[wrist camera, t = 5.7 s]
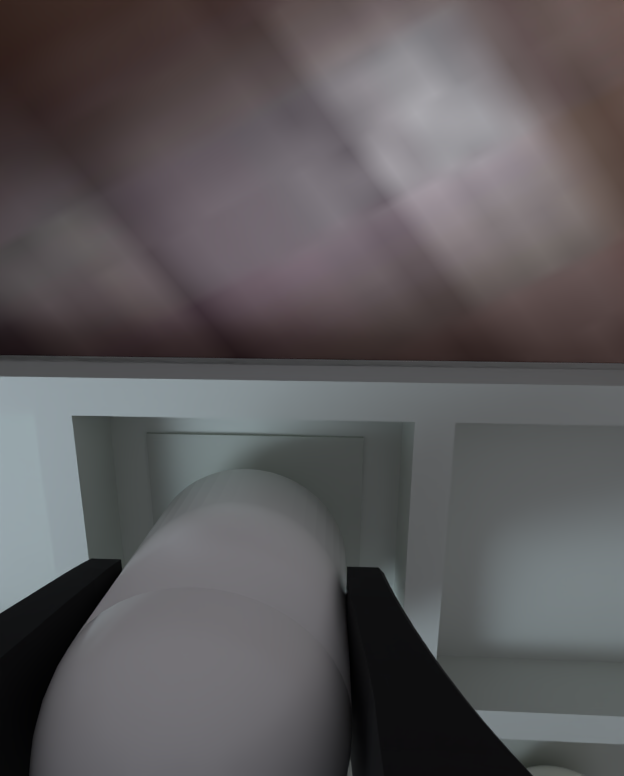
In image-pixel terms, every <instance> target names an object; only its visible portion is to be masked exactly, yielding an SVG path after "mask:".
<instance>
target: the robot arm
mask: <svg viewBox="0 0 624 776" xmlns="http://www.w3.org/2000/svg"><path fill="white" fill-rule="evenodd" d="M121 572H122V563H121V559H95V558H91V559H89V560H87V561H85V562H83V563H81V564H80V565H78V566H76V567H74V568H73V569H71V570H69V571H68V572H66V573H64V574H63V575H61V576H59V577H58V578H56V579H55V580H53V581H51V582H50V583H48V584H47V585H45V586H43V587H42V588H40V589H39V590H37V591H35V592H34V593H32V594H31V595H29V596H27V597H26V598H24V599H23V600H21V601H19V602H18V603H16V604H14V605H13V606H11V607H10V608H8V609H6V610H5V611H3V612H2V613H0V776H29V768H30V756H31V748H32V740H33V735H34V731H35V727H36V723H37V719H38V715H39V712H40V708H41V704H42V700H43V698H44V696H45V693H46V691H47V689H48V686H49V684H50V682H51V679H52V677H53V675H54V673H55V670H56V668H57V666H58V664H59V663H60V661H61V659H62V658H63V656H64V654H65V653H66V651H67V649H68V648H69V646H70V645H71V643H72V642H73V640H74V639H75V637H76V636H77V634H78V633H79V632H80V630H81V629H82V627H83V626H84V624H85V623H86V622H87V620H88V619H89V617H90V616H91V615H92V613H93V612H94V610H95V609H96V607H97V606H98V605H99V603H100V602H101V600H102V599H103V597H104V596H105V595H106V593H107V592H108V590H109V589H110V588H111V586H112V585H113V583H114V582H115V580H116V579H117V578H118V576H119V575H120V573H121ZM346 602H347V628H348V642H349V657H350V680H351V704H352V745H351V754H350V759H351V768H352V776H533V775H532V774H531V773H530V772H529V771H528V770H527V769H526V768H525V767H524V765H523V764H522V763H521V762H520V761H519V760H518V759H517V758H516V757H515V756H514V755H513V754H512V753H511V752H510V750H509V749H508V748H507V747H506V746H505V745H504V744H503V742H502V741H501V740H500V739H499V738H498V737H497V736H496V734H495V733H494V732H493V731H492V730H491V729H490V728H489V726H488V725H487V724H486V723H485V722H484V721H483V719H482V718H481V717H480V716H479V715H478V713H477V712H476V711H475V710H474V708H473V707H472V706H471V705H470V703H469V702H468V701H467V700H466V698H465V697H464V696H463V695H462V693H461V692H460V691H459V689H458V688H457V687H456V686H455V684H454V683H453V682H452V680H451V679H450V678H449V676H448V675H447V674H446V672H445V671H444V670H443V668H442V667H441V665H440V664H439V663H438V661H437V660H436V659H435V657H434V656H433V654H432V653H431V651H430V650H429V648H428V647H427V645H426V644H425V642H424V641H423V639H422V638H421V636H420V635H419V633H418V632H417V630H416V629H415V627H414V626H413V624H412V623H411V621H410V620H409V618H408V616H407V615H406V613H405V611H404V610H403V608H402V606H401V605H400V603H399V601H398V599H397V598H396V596H395V594H394V592H393V590H392V588H391V587H390V585H389V583H388V581H387V579H386V576H385V574H384V573H383V572H382V570H381V569H380V568H379V567H347V585H346Z"/></svg>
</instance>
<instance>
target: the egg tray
mask: <svg viewBox="0 0 624 776" xmlns="http://www.w3.org/2000/svg"><path fill="white" fill-rule="evenodd" d="M233 469H254V470H262V471H267V472H272V473H275V474H278V475H281V476H284V477H286V478H289V479H291V480H293V481H295V482H297V483H298V484H300V485H302V486H303V487H305V488H306V489H308V490H309V491H310V492H311V493H313V494H314V495H315V496H316V497H317V498H318V499H319V500H320V501H321V502H322V503H323V504H324V505H325V506H326V507H327V509H328V510H329V512H330V513H331V514H332V516H333V517H334V519H335V521H336V523H337V525H338V527H339V529H340V532H341V535H342V538H343V542H344V547H345V560H346V584H347V567H379V568H380V569H381V570H382V572H383V573H384V574H385V576H386V579H387V581H388V583H389V585H390V587H391V588H392V590H393V592H394V594H395V596H396V598H397V599H398V601H399V603H400V605H401V606H402V608H403V610H404V611H405V613H406V615H407V616H408V618H409V620H410V621H411V623H412V624H413V626H414V627H415V629H416V630H417V632H418V633H419V635H420V636H421V638H422V639H423V641H424V642H425V644H426V645H427V647H428V648H429V650H430V651H431V653H432V654H433V656H434V657H435V659H436V660H437V661H438V663H439V664H440V665H441V667H442V668H443V670H444V671H445V672H446V674H447V675H448V676H449V678H450V679H451V680H452V682H453V683H454V684H455V686H456V687H457V688H458V689H459V691H460V692H461V693H462V695H463V696H464V697H465V698H466V700H467V701H468V702H469V703H470V705H471V706H472V707H473V708H474V710H475V711H476V712H477V713H478V715H479V716H480V717H481V718H482V719H483V721H484V722H485V723H486V724H487V725H488V726H489V728H490V729H491V730H492V731H493V732H494V733H495V734H496V736H497V737H498V738H499V739H500V740H501V741H502V742H503V744H504V745H505V746H506V747H507V748H508V749H509V750H510V752H511V753H512V754H513V755H514V756H515V757H516V758H517V759H518V760H519V761H520V762H521V763H522V764H523V765H524V767H525V768H528V767H532V766H540V765H550V766H557V767H563V768H567V769H571V770H574V771H576V772H579V773H581V774H583V775H585V776H624V364H623V363H549V362H474V361H399V360H324V359H250V358H175V357H100V356H25V355H0V613H2V612H3V611H5V610H6V609H8V608H10V607H11V606H13V605H14V604H16V603H18V602H19V601H21V600H23V599H24V598H26V597H27V596H29V595H31V594H32V593H34V592H35V591H37V590H39V589H40V588H42V587H43V586H45V585H47V584H48V583H50V582H51V581H53V580H55V579H56V578H58V577H59V576H61V575H63V574H64V573H66V572H68V571H69V570H71V569H73V568H74V567H76V566H78V565H80V564H81V563H83V562H85V561H87V560H89V559H91V558H95V559H121V563H122V571H123V569H124V568H125V566H126V565H127V563H128V562H129V561H130V559H131V558H132V556H133V555H134V554H135V552H136V551H137V549H138V548H139V546H140V545H141V544H142V542H143V541H144V539H145V538H146V536H147V535H148V534H149V532H150V531H151V529H152V528H153V527H154V525H155V524H156V522H157V521H158V519H159V518H160V517H161V515H162V514H163V512H164V511H165V510H166V508H167V507H168V505H169V504H170V503H171V501H172V500H173V499H174V498H175V497H176V496H177V495H178V494H179V493H180V492H181V491H182V490H184V489H185V488H186V487H187V486H189V485H190V484H192V483H194V482H195V481H197V480H199V479H201V478H203V477H206V476H208V475H211V474H214V473H217V472H221V471H227V470H233ZM347 776H352V768H351V759H350V761H349V767H348V773H347Z"/></svg>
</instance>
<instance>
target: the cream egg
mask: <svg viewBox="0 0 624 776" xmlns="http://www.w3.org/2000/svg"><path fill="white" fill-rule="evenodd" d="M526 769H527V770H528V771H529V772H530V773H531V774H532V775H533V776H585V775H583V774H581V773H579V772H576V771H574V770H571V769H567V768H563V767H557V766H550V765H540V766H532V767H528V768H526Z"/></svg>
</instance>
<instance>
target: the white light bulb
mask: <svg viewBox="0 0 624 776" xmlns="http://www.w3.org/2000/svg"><path fill="white" fill-rule="evenodd" d="M346 585H347V584H346V560H345V547H344V542H343V538H342V535H341V532H340V529H339V527H338V525H337V523H336V521H335V519H334V517H333V516H332V514H331V513H330V512H329V510H328V509H327V507H326V506H325V505H324V504H323V503H322V502H321V501H320V500H319V499H318V498H317V497H316V496H315V495H314V494H313V493H311V492H310V491H309V490H308V489H306V488H305V487H303V486H302V485H300V484H298V483H297V482H295V481H293V480H291V479H289V478H286V477H284V476H281V475H278V474H275V473H272V472H267V471H262V470H254V469H233V470H227V471H221V472H217V473H214V474H211V475H208V476H206V477H203V478H201V479H199V480H197V481H195V482H194V483H192V484H190V485H189V486H187V487H186V488H185V489H184V490H182V491H181V492H180V493H179V494H178V495H177V496H176V497H175V498H174V499H173V500H172V501H171V503H170V504H169V505H168V507H167V508H166V510H165V511H164V512H163V514H162V515H161V517H160V518H159V519H158V521H157V522H156V524H155V525H154V527H153V528H152V529H151V531H150V532H149V534H148V535H147V536H146V538H145V539H144V541H143V542H142V544H141V545H140V546H139V548H138V549H137V551H136V552H135V554H134V555H133V556H132V558H131V559H130V561H129V562H128V563H127V565H126V566H125V568H124V569H123V571H122V572H121V573H120V575H119V576H118V578H117V579H116V580H115V582H114V583H113V585H112V586H111V588H110V589H109V590H108V592H107V593H106V595H105V596H104V597H103V599H102V600H101V602H100V603H99V605H98V606H97V607H96V609H95V610H94V612H93V613H92V615H91V616H90V617H89V619H88V620H87V622H86V623H85V624H84V626H83V627H82V629H81V630H80V632H79V633H78V634H77V636H76V637H75V639H74V640H73V642H72V643H71V645H70V646H69V648H68V649H67V651H66V653H65V654H64V656H63V658H62V659H61V661H60V663H59V664H58V666H57V668H56V670H55V673H54V675H53V677H52V679H51V682H50V684H49V686H48V689H47V691H46V693H45V696H44V698H43V700H42V704H41V708H40V712H39V715H38V719H37V723H36V727H35V731H34V735H33V740H32V748H31V756H30V768H29V776H347V773H348V767H349V761H350V754H351V745H352V704H351V680H350V657H349V642H348V628H347V602H346Z"/></svg>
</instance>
